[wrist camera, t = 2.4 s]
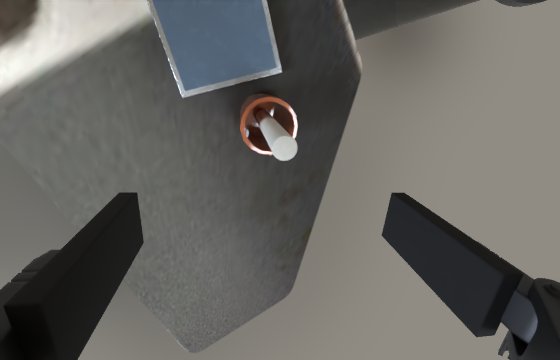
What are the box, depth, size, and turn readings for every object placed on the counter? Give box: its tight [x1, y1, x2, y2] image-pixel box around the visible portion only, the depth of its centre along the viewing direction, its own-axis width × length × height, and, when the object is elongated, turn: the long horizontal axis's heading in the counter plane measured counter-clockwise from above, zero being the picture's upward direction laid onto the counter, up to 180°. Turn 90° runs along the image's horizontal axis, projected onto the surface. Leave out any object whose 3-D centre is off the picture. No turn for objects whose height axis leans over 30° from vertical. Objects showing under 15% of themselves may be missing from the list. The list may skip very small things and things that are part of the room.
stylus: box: [256, 110, 298, 161], centre depth 32 cm, size 2×2×20 cm
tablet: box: [147, 0, 282, 98], centre depth 35 cm, size 15×20×1 cm
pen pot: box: [239, 93, 298, 155], centre depth 37 cm, size 7×7×10 cm
